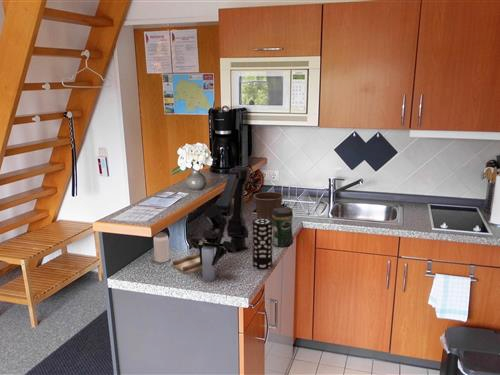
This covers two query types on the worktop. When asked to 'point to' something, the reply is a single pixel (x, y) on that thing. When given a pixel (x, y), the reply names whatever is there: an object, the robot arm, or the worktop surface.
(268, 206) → the plant pot
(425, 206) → the worktop surface
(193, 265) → the track
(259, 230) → the white-spotted black cylinder
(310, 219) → the worktop surface
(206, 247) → the grey translucent cylinder
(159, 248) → the can
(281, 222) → the coffee jar
